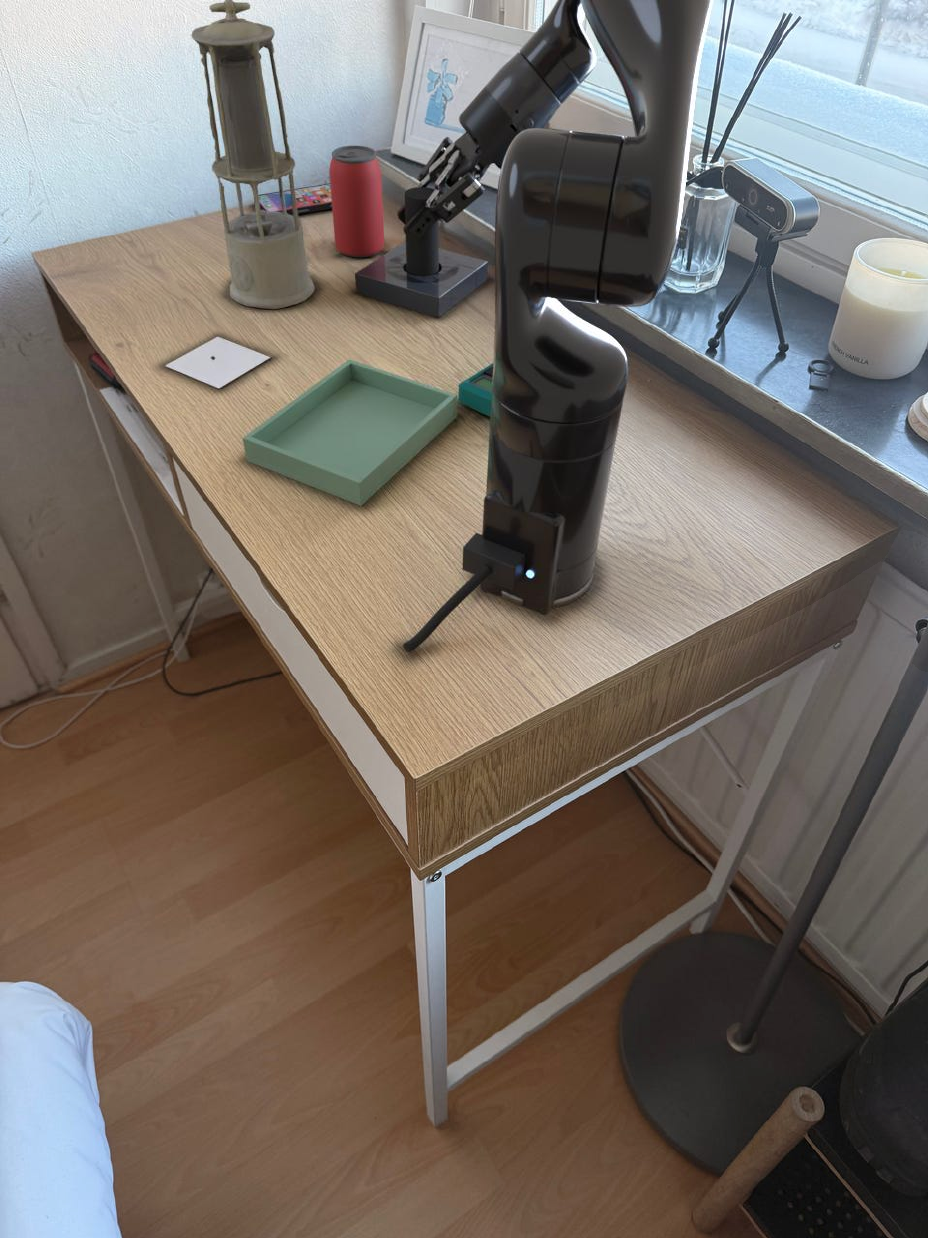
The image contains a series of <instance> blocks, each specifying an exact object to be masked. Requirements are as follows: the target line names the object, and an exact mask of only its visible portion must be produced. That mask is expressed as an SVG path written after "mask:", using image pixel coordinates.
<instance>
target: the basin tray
mask: <svg viewBox="0 0 928 1238" xmlns="http://www.w3.org/2000/svg"><path fill="white" fill-rule="evenodd" d="M457 417H458V394H456V393H453V392H450V391H447V390H444V389H440V388H438V387H435V386H432V385H429V384H425V383H422V382H420V381H416V380H413V379H411V378H408V377H404V376H401V375H398V374H396V373H393V372H389V371H386V370H383V369H380V368H377V367H374V366H371V365H368V364H365V363H362V362H359V361H357V360H353V359H347V360H346V361H345V362H343V363H342V364H341V365H339V366H337V367H336V368H335V369H334V370H332V371H331V372H330V373H329V374H327V375H325V376H324V377H323V378H321V379H320V380H319V381H318V382H316V383H315V384H314V385H312V386H311V387H310V388H308V389H307V390H306V391H304V392H303V393H301V394H300V395H299V396H297V397H296V398H295V399H293V400H292V401H291V402H289V403H288V404H287V405H285V406H284V407H282V408H281V409H280V410H278V411H277V412H276V413H274V414H273V415H272V416H270V417H269V418H268V419H266V420H265V421H264V422H262V423H261V424H260V425H258V426H257V427H255V428H254V429H253V430H251V431H250V432H249V433H247V434H246V435H245V436H243V437H242V443H243V447H244V454H245V460H246V461H247V462H248V463H250V464H254V465H256V466H259V467H261V468H263V469H266V470H269V471H271V472H274V473H277V474H279V475H282V476H283V477H287V478H289V479H291V480H294V481H297V482H299V483H301V484H304V485H306V486H309V487H312V488H314V489H317V490H319V491H322V492H324V493H327V494H329V495H332V496H334V497H337V498H340V499H343V500H344V501H347V502H350V503H352V504H355V505H357V506H360V507H362V506H364V504H366V503H367V502H368V501H369V500H370V499H371V498H372V497H373V496H374V495H375V494H376V493H377V492H378V491H380V489H382V487H384V486H385V485H386V484H387V483H388V482H389V481H390V480H391V479H392V478H393V477H394V476H396V474H397V473H399V472H400V471H401V470H402V469H403V468H404V467H405V466H406V465H407V464H408V463H409V462H411V460H413V459H414V458H415V457H416V456H417V455H418V454H419V453H420V452H421V451H423V449H424V448H425V447H427V445H429V444H430V443H431V442H432V441H433V440H434V439H435V438H436V437H437V436H439V435H440V433H441V432H443V431H444V430H445V429H446V428H447V427H448V426H449V425H450V424H451V423H452V422H453V421H454V420H455V419H457Z"/></svg>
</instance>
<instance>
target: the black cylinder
mask: <svg viewBox="0 0 928 1238" xmlns="http://www.w3.org/2000/svg"><path fill="white" fill-rule="evenodd" d="M434 191H435V189H432V188H427V187H417V186H415V187H411V188H408V189H406V190H405V191H404V204H405V224H404V226H405V225H406V224H407V223H408V222H409V221H410V219H411V218H412V217H413V216H414V215H415V214H416V213H417V212H418V210H419V209H420V208H421V207H422V206H423V205H424V206H425V203H426V201H427V200H428V199H429V197H430V196H431V195H432V193H433V192H434ZM439 238H440V221H439V220H437V222H436V223H435V224H434V225H433V226H432V227H431V228H430V229H429V230H428V231H427V233H426V234H425V235H424V236H423V237H422V238H421V239H420V240H419V241H418V242H416V243H415V242H413V241H412V240H411V239H410V238H409V237H408V236H407V235H406V234H405V241H406V269H407V271H408V272H409V273H410V274H413V275H416V276H429V275H433V274H435V273H437V272H438V270H439V249H440V239H439Z"/></svg>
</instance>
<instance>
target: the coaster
mask: <svg viewBox="0 0 928 1238" xmlns="http://www.w3.org/2000/svg"><path fill="white" fill-rule="evenodd" d="M270 358H271V357H270V356H268V355H266V354H263V353H260V352H258V351H256V350H253V349H250V348H248V347H245V346H243V345H240V344H237V343H235V342H233V341H230V340H229V339H228V340H227V339H225V338H222V337H220V336H216V337H213V339H211V340H209V341H207V342H205V343H203V344H202V345H200V346H197V347H196V348H195V349H192V350H190V351H189V352H187V353H186V354H184V355H182V356H179V357H178V358H176V359H175V360H173V361H171V362H169V363H167V364H166V365H164V367H167V368H169V369H171V370H174V371H176V372H179V373H181V374H183V375H186V376H188V377H191V378H193V379H195V380H196V381H197V380H198V381H200V382H203V383H204V384H207V385H209V386H212V387H213V388H216V389H221V388H222V387H224V386H225V385H227V384H229V383H230V382H232V381H234V380H235V379H237V378H239V377H241V376H242V375H244V374H245V373H247V372H249V371H250V370H252V369H254V368H256V367H258V366H259V365H261V364H262V363H264V362H265V361H267V360H269V359H270Z"/></svg>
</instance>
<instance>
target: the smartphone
mask: <svg viewBox="0 0 928 1238" xmlns="http://www.w3.org/2000/svg"><path fill="white" fill-rule="evenodd" d="M294 189H295V195H296V203H297V211H298V215H300V214H307V213H313V212H318V211H324V210H330V209H331V210H332V199H331V187H330V182H329V183H324V184H317V185H311V186H304V187H298V188H294ZM283 191H284V197H285V208H286V213H287V214H289V215H292V216H293V209H292V199H291V191H290V189H287V190H283ZM258 196H259V204H260V210H265V211H273V212H282V207H281V198H280V191H279V190H278V191H274V192H268V193H267V192H266V193H262V194H258ZM253 203H254V204H255V201H254V200H253Z"/></svg>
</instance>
